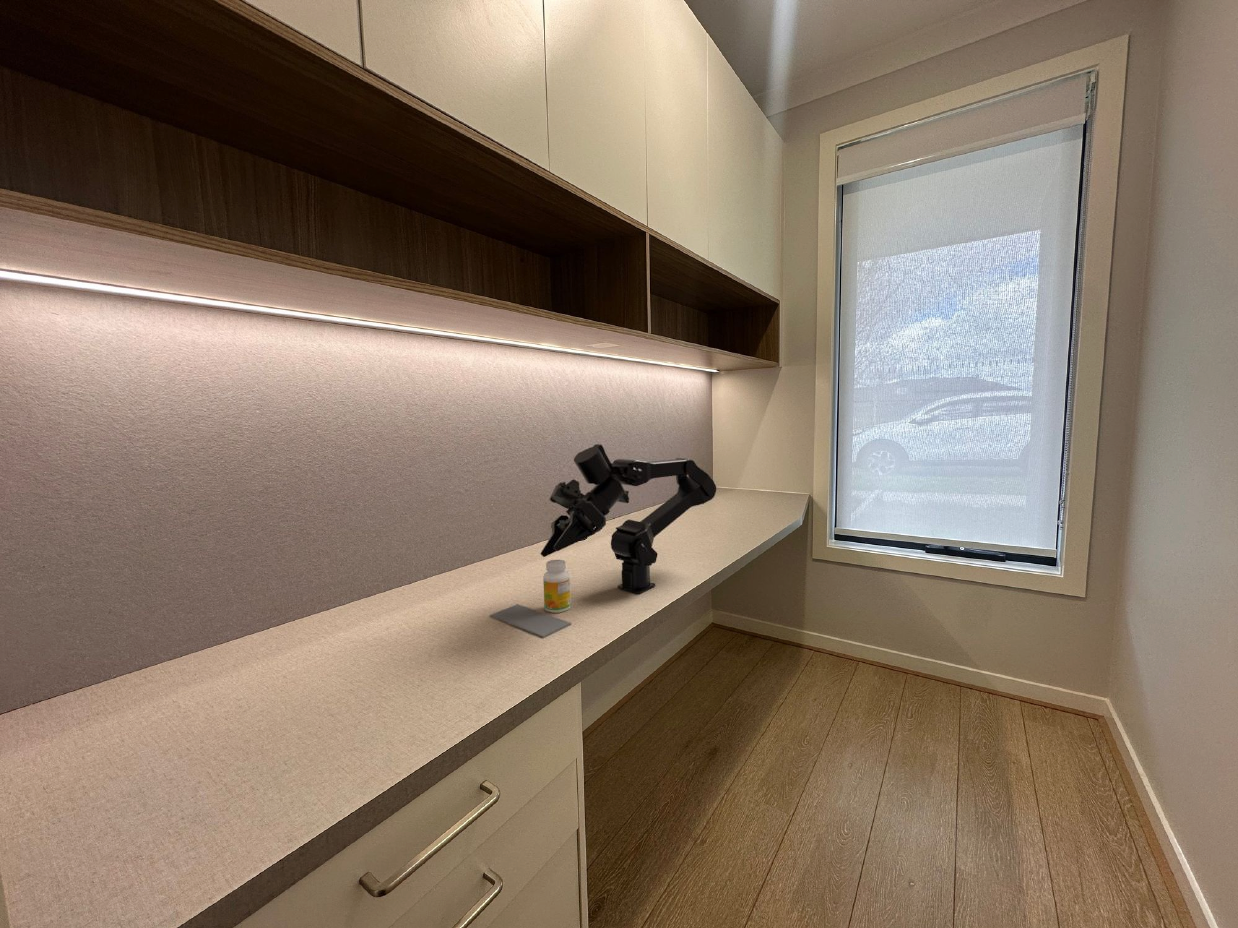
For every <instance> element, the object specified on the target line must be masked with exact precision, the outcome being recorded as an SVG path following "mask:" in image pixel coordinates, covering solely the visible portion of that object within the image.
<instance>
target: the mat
mask: <svg viewBox="0 0 1238 928" xmlns="http://www.w3.org/2000/svg"><path fill="white" fill-rule="evenodd" d="M489 617H490V618H493V619H495V620H497V621H500V622H503V623H505V624H508V625H510V626H513V627H515V628H518V629H520V630H523V631H524V632H525V631H526V632H527V633H530V634H533V635H535V636H538V637H540V638H543V639H545V638H546V637H549V636H551V635H552V634H554V633H557V632H558V631H559V632H560V631H561V630H563V629H565V628H567V627H569V626H571V625H572V622H570V621H567V620H564V619H561V618H559V617H555V616H553V615H550V614H548V613H544V612H541V611H538V610H535V609H532V608H530V607H528V606H524V605H522V604H518V603H517V604H514V605H511V606H509V607H507V608H504V609H501V610H499V611H496V612H495V613H491V614H489Z"/></svg>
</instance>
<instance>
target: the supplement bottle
mask: <svg viewBox="0 0 1238 928" xmlns="http://www.w3.org/2000/svg"><path fill="white" fill-rule="evenodd" d="M566 564H567V562H566V561H565V560H563V559H550V560H548V561H546V562H545V568H546V572H545V573H544V574H543V576H542V577H543V602H544V603H543V604H544V610H545V611H546V612H547V613H551V614H552V613H553V614H554V613H555V614H556V613H557V614H558V613H559V614H560V613H563V612H566V611H568V610H570V608H571V582H570V581H571V580H570V578H571V577H570V576H571V575H570V573H569V572H568V571H567V570H566V569H567V565H566Z"/></svg>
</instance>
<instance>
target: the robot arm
mask: <svg viewBox="0 0 1238 928" xmlns="http://www.w3.org/2000/svg"><path fill="white" fill-rule="evenodd" d="M573 462H574V464H575V465H576V467H577V468H578V470H579V472H580V473H581V475H582V477H583V479H584V480H585V482H586V483H587V484H590V485H591V484H592V485H595V486H593V488H591V490H589V491H587V492H586V493H585V494H584V493H582V491H581V490H580V481H577V480H575V478H573V479H571V480H570V481H569V482H567V483H566V482H565V481H563V482H562V481H561V482H559V483H558V484H557V485H555V487H554V489H553V491H552V493H551V495H550V496H549V501H550V502H552V503H553V504H558V505H559V506H561V507H563V508H565V509H567V510H566V511H565V513H566V514H567V515H562V514H561V515H559V516H558V517H556V518H555V519H554V520H553V521H552V522H551V523H550V528H551V534H550V536H549V539H548V540H547V542H546V544H545V545H544V547H543V549H542V550H541V551H540V555H541V556H542V557H543V558H546V557H547V556H550V555H551V554H554V553H556V552H559V551H561V550H564V549H566V548H568V547H571V546H572V545H574V544H576V543H578V542H581V541H583V540H585V539H587V538H589V537H591V536H593V535H595V534H596V533H599V532H600V531H601V530H602V529H604V527H605V526H606V525H607V518H606V516H607V515H608V514H610V510H611V509H612V507H614V505H616V503H624V504H629V502H630V497H629V493H630V491H629V490H625V488H624V487H623V486H631V487H639V486H641V485H644V484H647V483H649V481H650V480H653V479H659V478H667V477H668V478H669V477H675V479H676V484H677V485H678V487H677V492H676V494H674V495H673V496H671V497H670V498H669V499H667V500H666V501H665V502H664V503H662V504H661V505H660V506H659V507H657V508H656V509H654V510H653V511H652V512H650V513H649V514H648V515H647V516H645V517H644V518H643V519H642V520H640V521H639V520H634V519H633V520H632V519H627V520H625V521H624V522H623V523H622V524H621V525H619V526H617V527H615V531H614V532H613V533H612V535H611V536H610V537H611V540H610V548H611V550H612V552H613V553H614V555H615V559H616V560H618V561H619V560H620V561H622V563H621V583H620V584H618V585H617V587H616V588H617V589H621V590H624V591H627V592H630V593H635V594H641V593H644V592H646V591H648V590H650V589H652V588H653V587H655V586H656V583H654V582H651V578H650V577H651V576H650V574H651V572H650V570H651V569H650V568H651V567H650V566H653V564H655V563H656V562H657V558H658V554H659V553H658V552H657V551H656V550H655V549H654V548H653V544H654V540H655V538H656V536H658V535H659V534H661V532H662V531H664V530H665V529H666V528H668V527H669V526H670V525H671V524H672V523H674V522H675V521H676V520H677V519H678V518H680V517H681V516H682V515H683V514H685V513H686V512H687V511H689V509H691V508H693V507H696V506H697V507H698V506H700V505H704V504H706V503H708V502H710V501H711V500H713V499H714V498H715V496H716V493H717V485H716V484H715V481H714V480H713V479H712V477H711V476H710V475H709V474H708V473H707V472H706V471H704V470H703V469H701V468H700V467H699V466H698V465H697V464H696V462H695V461H694V460H693V459H691V458H681V457H677V458H675V459H664V460H653V461H645V460H639V459H625V458H617V459H615V460H613V462H611V460H610V459H609V457H608V455H607V454H606V451H605V448H604V447H603V445H602V444H599V443H597V444H594V445H593V446H591V447H589V448H586V449H584V450H582V451H579V452H577V454H576V455H575V456H574V458H573ZM656 564H657V563H656Z"/></svg>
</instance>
